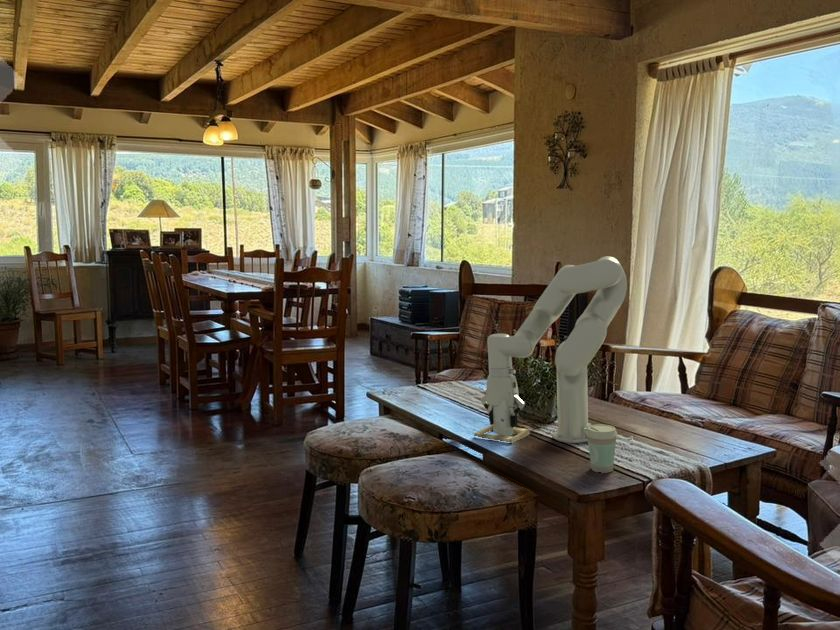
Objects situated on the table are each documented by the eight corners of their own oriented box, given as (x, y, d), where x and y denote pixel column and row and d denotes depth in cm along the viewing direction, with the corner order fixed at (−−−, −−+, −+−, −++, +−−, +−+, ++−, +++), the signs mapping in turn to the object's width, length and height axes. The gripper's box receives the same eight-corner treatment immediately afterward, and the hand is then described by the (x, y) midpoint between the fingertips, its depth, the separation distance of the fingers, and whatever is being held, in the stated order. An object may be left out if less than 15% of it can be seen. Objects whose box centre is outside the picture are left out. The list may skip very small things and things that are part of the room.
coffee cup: (587, 463, 208) (586, 423, 206) (618, 465, 205) (617, 424, 204) (585, 474, 200) (584, 432, 198) (617, 475, 197) (616, 433, 196)
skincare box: (492, 432, 239) (491, 397, 237) (503, 430, 241) (502, 394, 239) (504, 437, 233) (502, 400, 232) (515, 434, 236) (513, 398, 234)
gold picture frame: (529, 434, 238) (529, 429, 238) (512, 444, 228) (511, 439, 228) (492, 428, 246) (492, 424, 246) (474, 438, 237) (474, 433, 236)
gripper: (530, 371, 232) (532, 425, 234) (483, 367, 242) (486, 419, 245) (518, 376, 226) (521, 431, 228) (471, 372, 236) (474, 425, 239)
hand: (503, 424), depth 237 cm, fingers closed on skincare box, 7 cm apart
